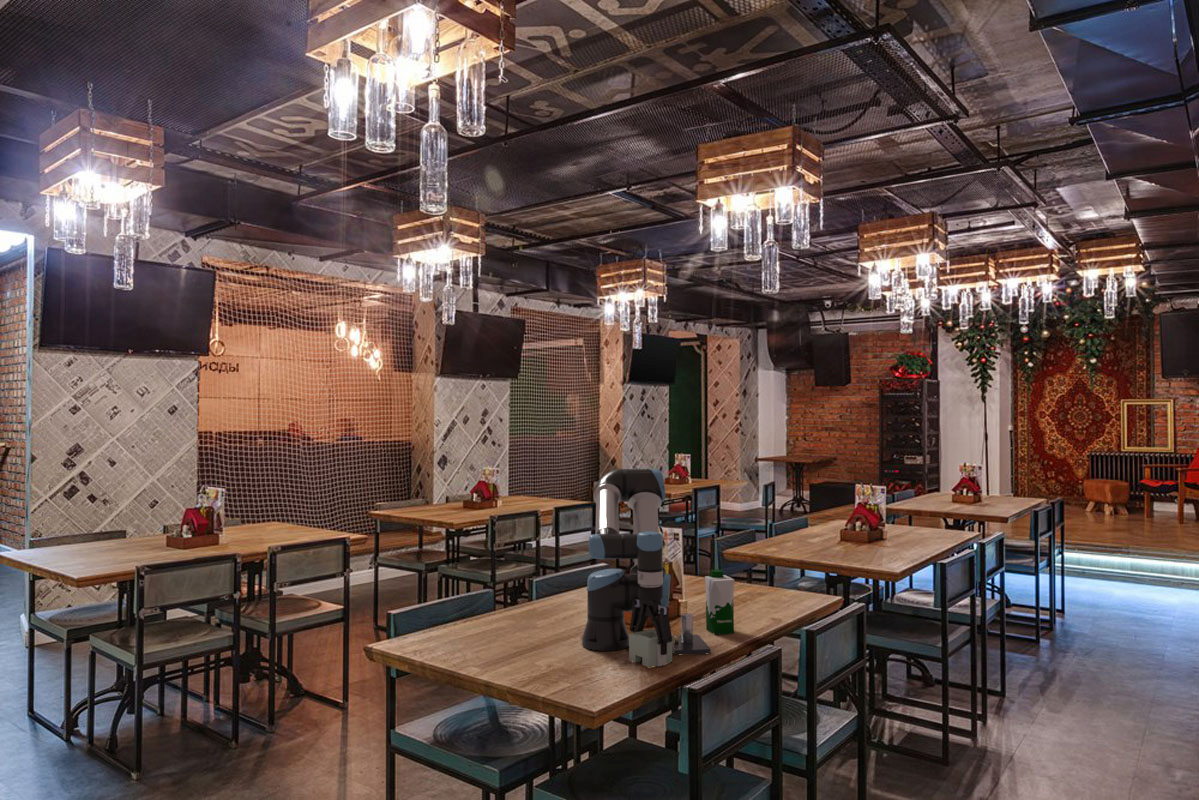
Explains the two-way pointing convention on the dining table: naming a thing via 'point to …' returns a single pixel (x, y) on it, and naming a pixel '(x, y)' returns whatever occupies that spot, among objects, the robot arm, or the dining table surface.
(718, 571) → the milk carton
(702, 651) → the base plate
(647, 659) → the notched green box
